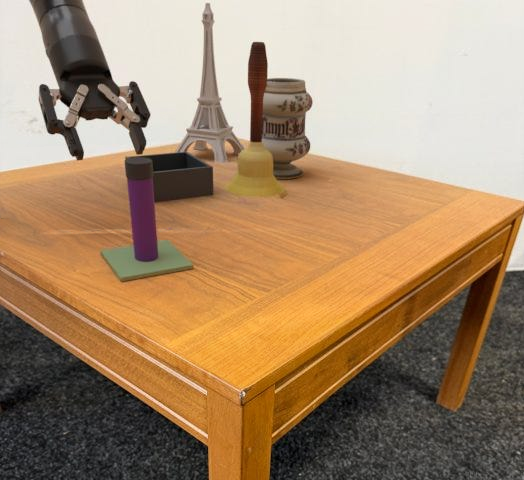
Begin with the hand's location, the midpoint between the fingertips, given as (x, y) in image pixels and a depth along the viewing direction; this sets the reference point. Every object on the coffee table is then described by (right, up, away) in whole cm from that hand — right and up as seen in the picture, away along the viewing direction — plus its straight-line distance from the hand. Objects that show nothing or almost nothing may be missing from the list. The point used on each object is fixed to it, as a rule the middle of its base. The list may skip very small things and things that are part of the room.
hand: (111, 154), depth 76 cm
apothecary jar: (+25, +10, +41) cm, 49 cm away
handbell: (+19, +3, +29) cm, 35 cm away
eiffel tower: (+9, +18, +52) cm, 55 cm away
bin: (+4, +2, +26) cm, 27 cm away
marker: (+5, -14, 0) cm, 15 cm away
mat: (+5, -15, 0) cm, 15 cm away
